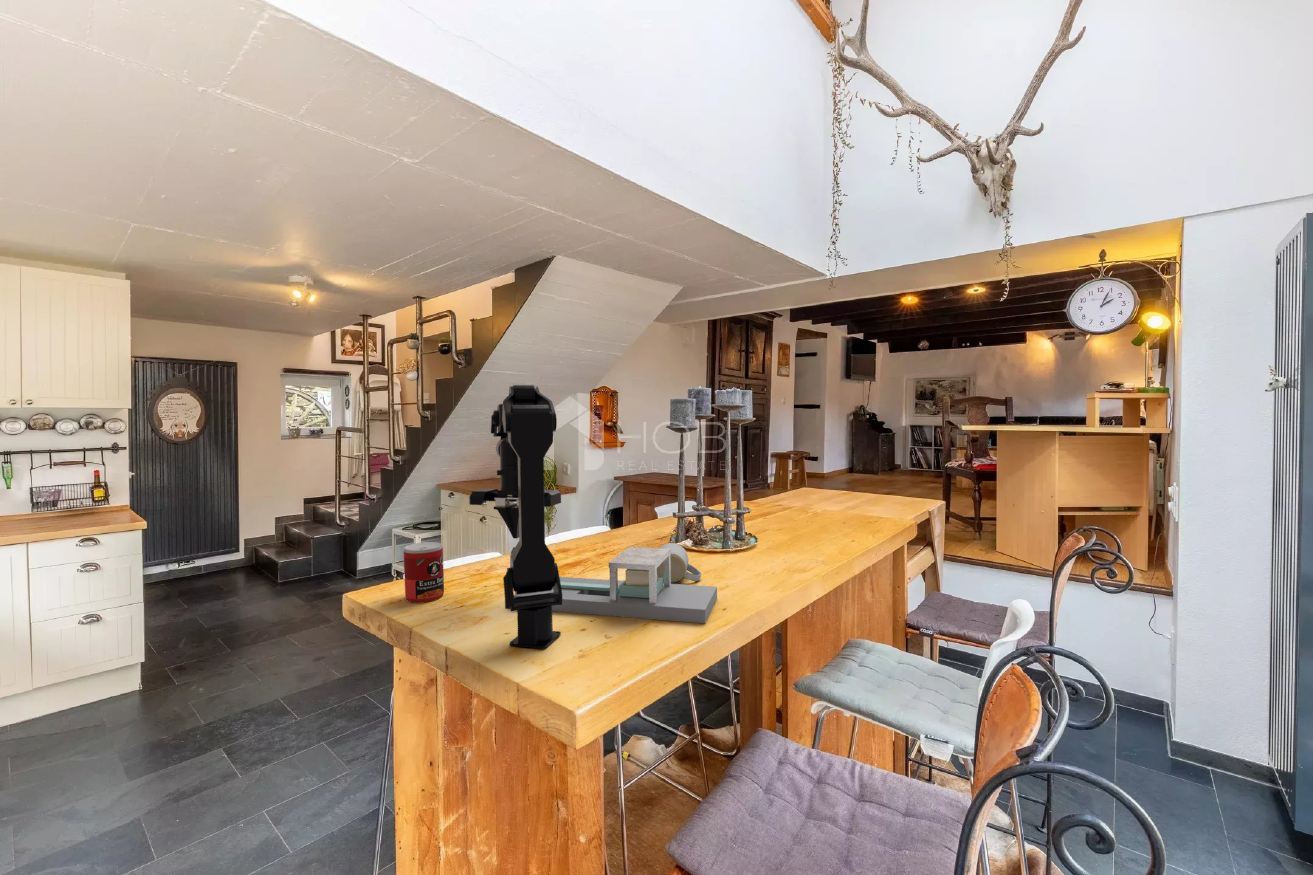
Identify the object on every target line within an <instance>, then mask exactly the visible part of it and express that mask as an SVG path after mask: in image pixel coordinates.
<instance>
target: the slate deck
mask: <svg viewBox="0 0 1313 875" xmlns="http://www.w3.org/2000/svg"><path fill="white" fill-rule="evenodd" d="M559 578H560V582H571V583H586V584H601V585H610V579H602V578H601V579H599V578H587V577H586V578H583V577H570V576H569V577H568V576H559ZM624 581H625V580H618V586H620V585H621V584H622V583H623V582H624ZM561 589H562V605H553V606H552V612H560V613H573V614H584V615H595V616H597V615H598V616H609V617H610V616H611V617H621V618H634V619H635V618H636V619H646V620H647V619H648V620H659V621H669V622H671V621H673V622H682V623H694V624H696V623H698V624H706V623H707V621H708V619H709V616H710V615H711V612H712V611H711V610H713V609H714V606H715V604H716V602H717V600H718V587H717V586H713V585H712V586H711V585H710V586H709V585H698V584H697V585H696V584H682V583H681V584H678V583H671V586H670V587H664V582H663V588H662V590H661V591H660V592H659V593H658V594H657V603H656V604H649V598H640V597H626V596H619V592H618V600H617V601H610V591H600V590H586V589H571V588H561ZM553 592H554V591H553V587H552V590H551V591H545V592H536V593H528V594H520V595H516V594H515V593H514V597H521V596H529V595H537V594H545V593H553ZM712 608H713V609H712ZM709 614H710V615H709Z"/></svg>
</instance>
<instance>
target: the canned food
mask: <svg viewBox="0 0 1313 875" xmlns="http://www.w3.org/2000/svg"><path fill="white" fill-rule="evenodd" d="M403 569H404V571H403V572H404V594H405V595H404V596H405V599H406V601H407V600H408V601H407V602H409V601H410V603H412V602H424V603H430V602H429V601H431V602H433V601H432V600H434V601H437V600H440V599H441V598H442V597H444V592H445V579H444V578H445V577H444V575H445V574H444V570H445V569H444V546H443V543H441V542H437V541H424V542H417V543H412V544H408V545H406V546H404V548H403ZM440 597H441V598H440Z"/></svg>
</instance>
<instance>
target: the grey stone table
mask: <svg viewBox="0 0 1313 875" xmlns="http://www.w3.org/2000/svg"><path fill="white" fill-rule="evenodd" d="M670 554H671V549H663V548H661V547H660V548H659V547H643V546H642V547H641V546H640V547H639V546H638V547H637V546H628V548H626V549H625V550H623V551H622V552H621V553H619V554H618V555H617V556H616V557H614V558H613V559H611V560H610V561H609V562H608V569H609V580H610V601H617V600H618V579H619V576H618V575H619V573H618V569H622V570H623V569H625V570H627V569H639V570H649V604H656V603H657V578H658V576H657V567H658V566H659V565H660V564H661V563H662V562H663V563H664V581H663V583H664V587H670V586H671V584H672V583H671V560H670Z"/></svg>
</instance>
